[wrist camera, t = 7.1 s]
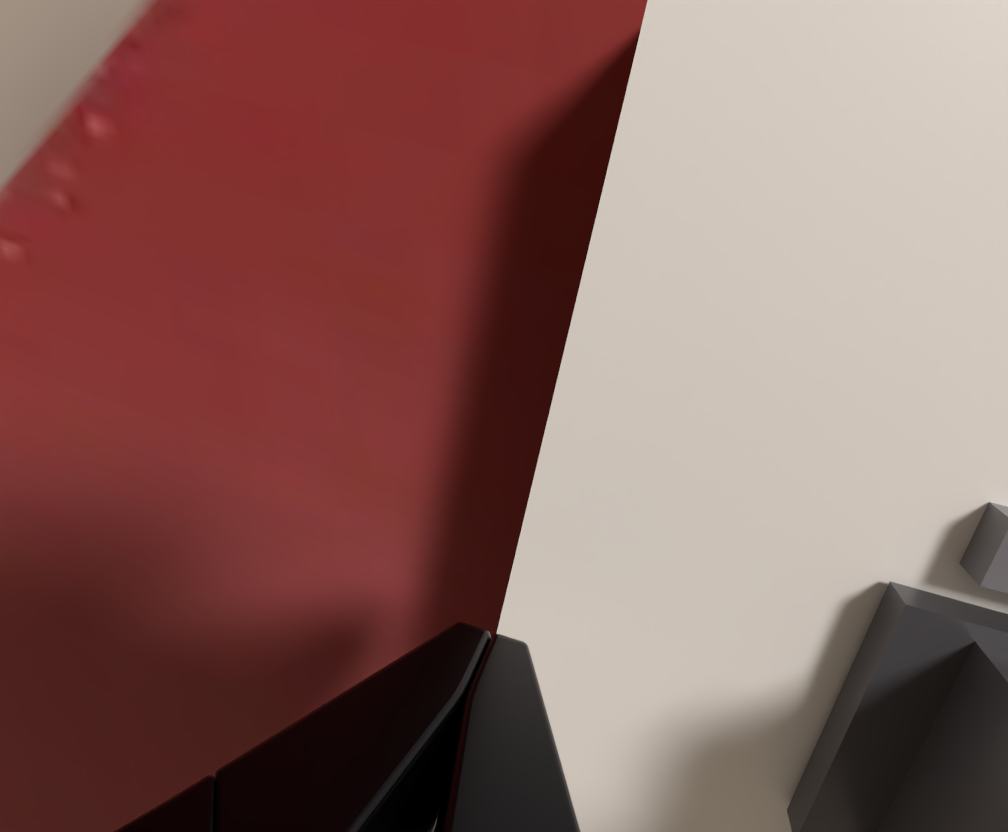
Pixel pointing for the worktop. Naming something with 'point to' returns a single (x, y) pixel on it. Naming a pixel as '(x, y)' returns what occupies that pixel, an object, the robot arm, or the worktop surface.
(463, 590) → the worktop surface
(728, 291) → the breaker box
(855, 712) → the breaker toggle
